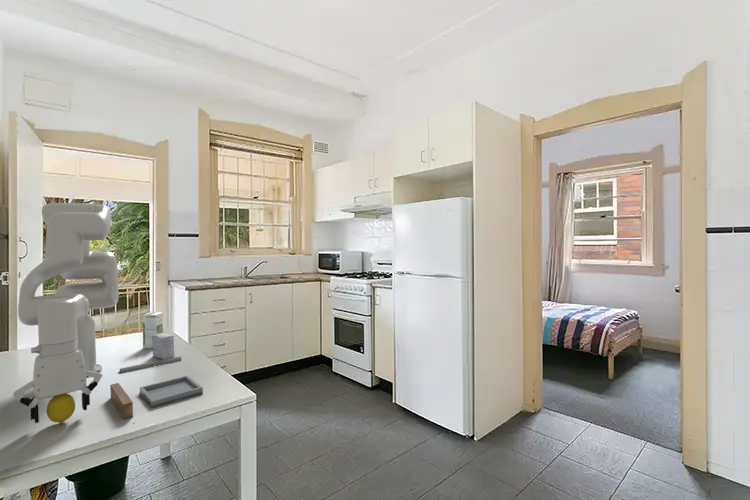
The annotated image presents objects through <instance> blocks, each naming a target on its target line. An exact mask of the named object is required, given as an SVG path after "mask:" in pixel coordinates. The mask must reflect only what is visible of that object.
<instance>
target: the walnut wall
mask: <svg viewBox="0 0 750 500" xmlns="http://www.w3.org/2000/svg"><path fill="white" fill-rule="evenodd" d="M110 399H111V401H112V402H113V404H114V406H115V408H116V409H117V411H118V412H119V414H120V415H121V417H122V418H123V420H127V419H130V418H133V417H134V406H133V405H134V404H133V403H134V402H133V400H132V399H131V398H130V396H129V395H128V394H127V392H126V391H125V390H124V388H123V387H122V385H121V384H120V383H119V382H117V383H112V384H110Z"/></svg>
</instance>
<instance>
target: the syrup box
mask: <svg viewBox="0 0 750 500" xmlns="http://www.w3.org/2000/svg"><path fill="white" fill-rule="evenodd" d="M160 333H164V312H162V311H161V312H160V311H150V312H148V313H145V314H142V348H143V349H153V342H152V336H153V335H156V334H160Z"/></svg>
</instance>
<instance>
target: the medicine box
mask: <svg viewBox="0 0 750 500" xmlns="http://www.w3.org/2000/svg"><path fill="white" fill-rule="evenodd" d="M174 337H175V336H174V335H173V334H169V333H164V332H163V333H160V334H156V335H153V336H152V342H153V348H152V356H153V357H154V358H158V359H160V360H165V359H170V358H174V357H175V343H174V341H175V339H174Z"/></svg>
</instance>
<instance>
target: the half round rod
mask: <svg viewBox="0 0 750 500" xmlns="http://www.w3.org/2000/svg"><path fill="white" fill-rule="evenodd" d="M178 361H179V362H182V357H181V356H174V357H171V358H168V359H160V360H156V361H152V362H151V361H150V362H146V363H140V364H136V365H132V366H126V367H122V368H119V372H120V373H121V374H122V375H123V374H126V373H132V372H136V371H141V370H146V369H150V367H151V368H155V367H154V366H156V367H160V366H164V364H165V365H169V363H170V364H174V363H173V362H175V363H178ZM159 365H160V366H159Z"/></svg>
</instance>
